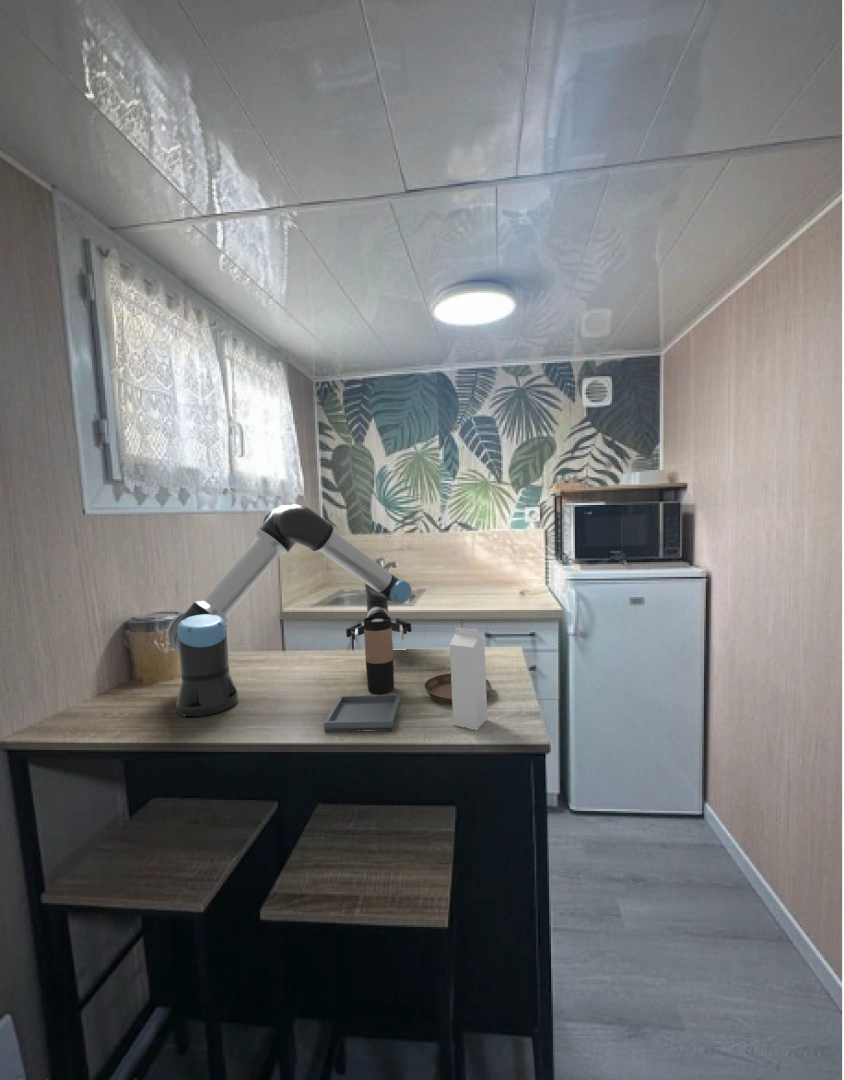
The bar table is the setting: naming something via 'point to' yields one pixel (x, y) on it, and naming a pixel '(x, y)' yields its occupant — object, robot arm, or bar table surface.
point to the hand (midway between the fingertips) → (379, 636)
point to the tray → (363, 713)
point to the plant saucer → (443, 688)
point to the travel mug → (379, 654)
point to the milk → (468, 678)
